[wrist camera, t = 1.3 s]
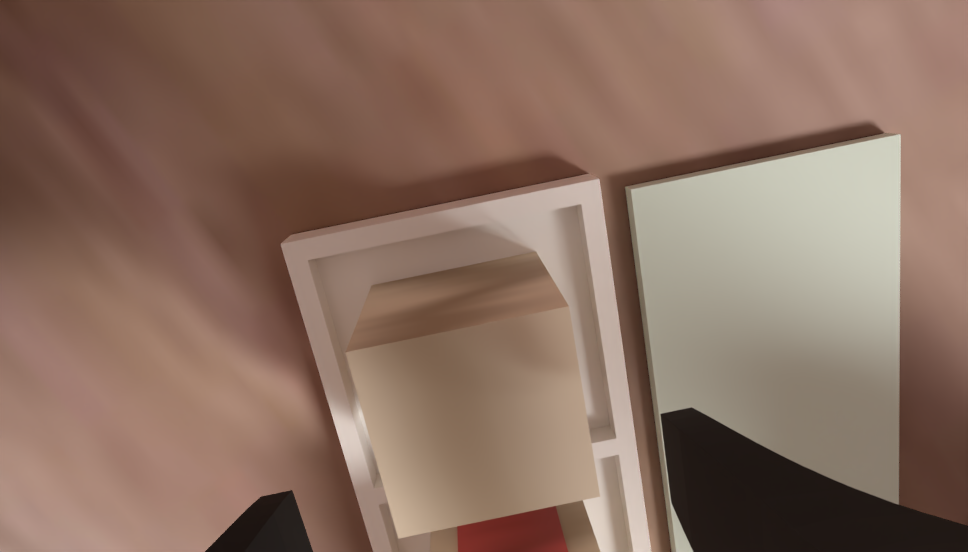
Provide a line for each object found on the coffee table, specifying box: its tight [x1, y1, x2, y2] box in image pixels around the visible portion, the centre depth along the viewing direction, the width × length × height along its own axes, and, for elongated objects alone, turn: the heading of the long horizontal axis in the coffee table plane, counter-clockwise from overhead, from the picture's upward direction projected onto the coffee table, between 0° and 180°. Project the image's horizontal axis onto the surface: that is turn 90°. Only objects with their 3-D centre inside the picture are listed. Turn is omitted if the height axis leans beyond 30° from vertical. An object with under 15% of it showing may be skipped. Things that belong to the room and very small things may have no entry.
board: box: [625, 133, 901, 552], centre depth 20 cm, size 8×14×1 cm, turn 11°
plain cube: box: [345, 252, 600, 539], centre depth 16 cm, size 5×5×5 cm
